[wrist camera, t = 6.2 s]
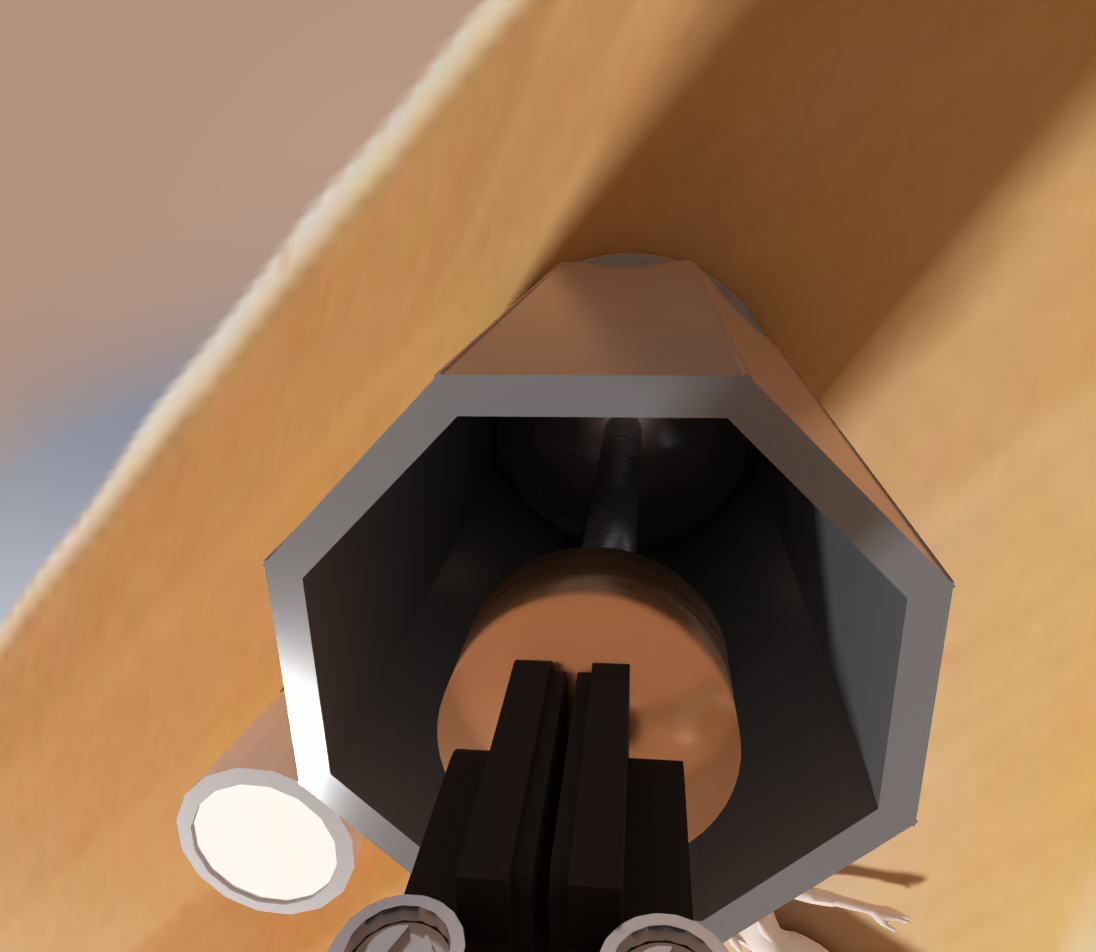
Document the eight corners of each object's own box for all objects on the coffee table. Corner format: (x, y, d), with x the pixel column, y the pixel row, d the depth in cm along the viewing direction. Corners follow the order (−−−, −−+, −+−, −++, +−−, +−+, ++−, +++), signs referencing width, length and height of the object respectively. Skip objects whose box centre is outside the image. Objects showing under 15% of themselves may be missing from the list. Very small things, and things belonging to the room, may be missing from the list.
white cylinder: (345, 636, 35) (274, 741, 28) (437, 753, 36) (390, 879, 30) (229, 700, 37) (138, 813, 30) (321, 810, 38) (253, 939, 32)
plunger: (759, 296, 25) (929, 482, 10) (744, 542, 28) (857, 986, 13) (494, 299, 26) (269, 470, 11) (506, 536, 29) (339, 940, 14)
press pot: (788, 249, 27) (1005, 361, 11) (762, 621, 32) (881, 1104, 15) (472, 254, 29) (219, 361, 12) (492, 611, 33) (331, 1046, 17)
